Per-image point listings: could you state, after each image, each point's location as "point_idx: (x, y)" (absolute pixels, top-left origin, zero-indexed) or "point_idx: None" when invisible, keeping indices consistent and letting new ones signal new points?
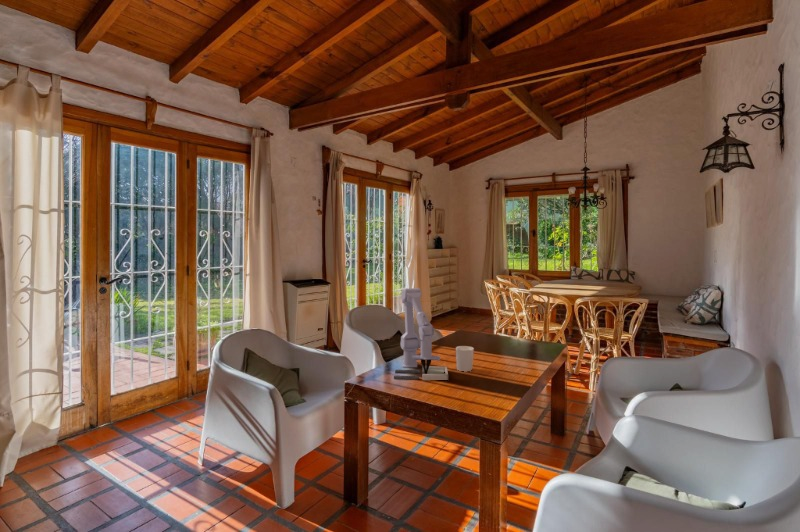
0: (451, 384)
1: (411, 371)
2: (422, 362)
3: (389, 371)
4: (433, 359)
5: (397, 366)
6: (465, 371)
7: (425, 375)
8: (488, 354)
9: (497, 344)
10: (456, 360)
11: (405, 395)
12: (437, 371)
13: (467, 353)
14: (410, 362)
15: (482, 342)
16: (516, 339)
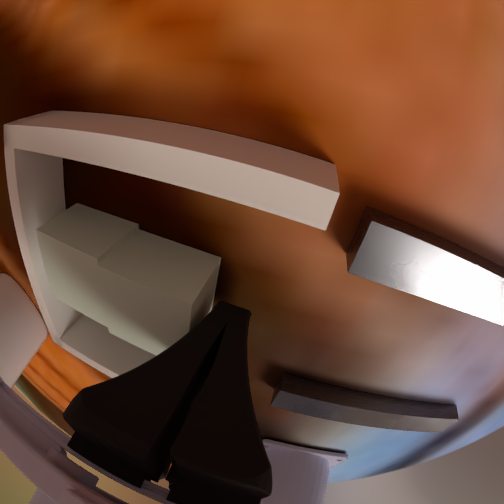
0: (51, 18)
1: (353, 404)
2: (244, 480)
3: (460, 422)
4: (41, 428)
5: (367, 459)
6: (7, 276)
7: (275, 166)
8: (26, 376)
9: (38, 402)
10: (13, 358)
11: None
12: (86, 274)
13: None
14: (298, 473)
15: (66, 425)
16: (25, 396)
